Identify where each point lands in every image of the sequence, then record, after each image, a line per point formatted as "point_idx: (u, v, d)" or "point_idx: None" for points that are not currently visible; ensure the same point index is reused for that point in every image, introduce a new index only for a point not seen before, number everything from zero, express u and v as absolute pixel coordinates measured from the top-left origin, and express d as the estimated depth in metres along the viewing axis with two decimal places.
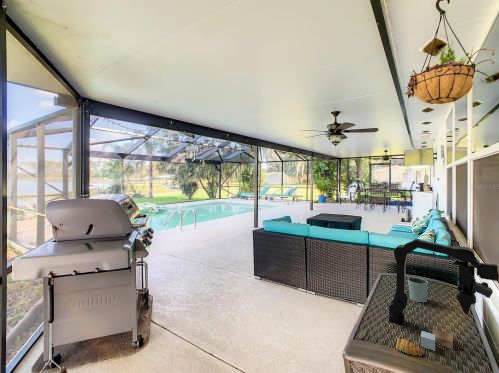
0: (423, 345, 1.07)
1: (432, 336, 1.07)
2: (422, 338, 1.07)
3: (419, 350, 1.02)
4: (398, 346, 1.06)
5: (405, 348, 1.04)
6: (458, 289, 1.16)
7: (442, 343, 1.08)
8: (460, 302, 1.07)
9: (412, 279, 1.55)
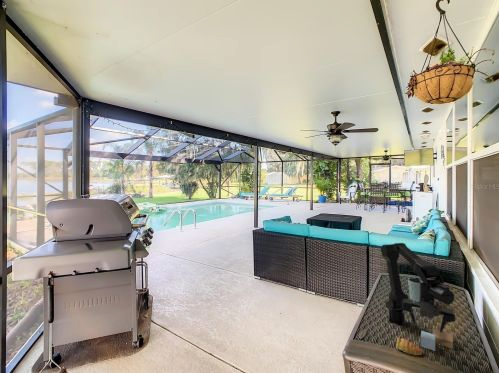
0: (423, 345, 1.07)
1: (432, 336, 1.07)
2: (422, 338, 1.07)
3: (418, 350, 1.03)
4: (398, 346, 1.06)
5: (405, 348, 1.04)
6: (442, 314, 1.07)
7: (442, 343, 1.08)
8: None
9: (412, 279, 1.55)
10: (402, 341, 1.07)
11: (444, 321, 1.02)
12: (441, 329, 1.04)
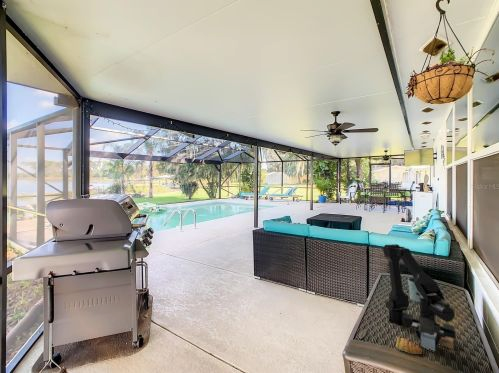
0: (423, 345, 1.07)
1: (432, 336, 1.07)
2: (422, 338, 1.07)
3: (418, 349, 1.03)
4: (398, 345, 1.06)
5: (405, 348, 1.04)
6: None
7: (442, 343, 1.08)
8: None
9: (412, 279, 1.55)
10: (402, 341, 1.07)
11: (439, 336, 1.04)
12: (436, 343, 1.05)
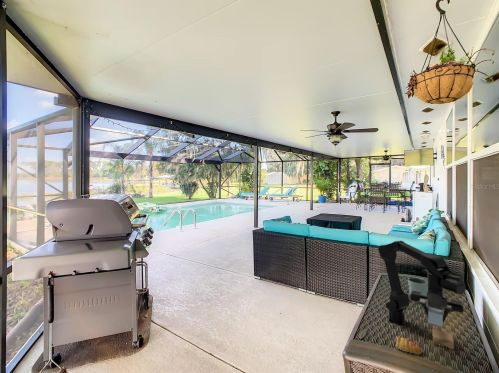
0: (431, 320, 1.08)
1: (440, 312, 1.08)
2: (430, 313, 1.08)
3: (418, 348, 1.04)
4: (398, 345, 1.06)
5: (404, 347, 1.05)
6: None
7: (443, 343, 1.08)
8: None
9: (412, 279, 1.55)
10: (402, 340, 1.07)
11: (446, 311, 1.05)
12: (443, 319, 1.07)
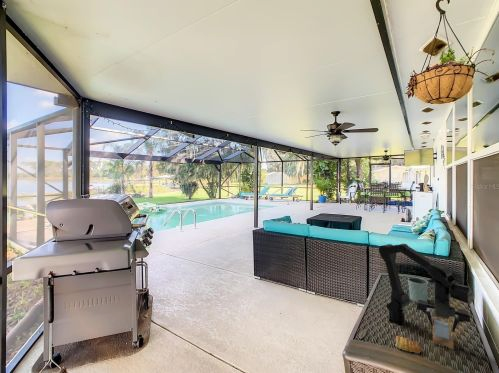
0: (437, 333, 1.10)
1: (446, 325, 1.10)
2: (436, 326, 1.10)
3: (418, 347, 1.04)
4: (398, 344, 1.07)
5: (404, 346, 1.05)
6: None
7: (442, 343, 1.08)
8: None
9: (412, 279, 1.55)
10: (401, 339, 1.08)
11: (456, 321, 1.06)
12: (453, 329, 1.08)
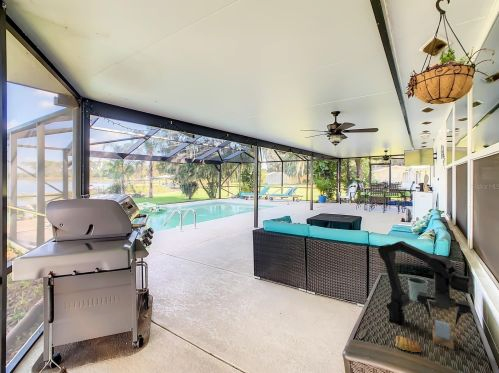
0: (437, 333, 1.10)
1: (447, 325, 1.10)
2: (436, 326, 1.10)
3: (417, 347, 1.05)
4: (398, 344, 1.07)
5: (404, 346, 1.05)
6: None
7: (442, 343, 1.08)
8: None
9: (412, 279, 1.55)
10: (401, 339, 1.08)
11: (459, 313, 1.05)
12: (456, 321, 1.07)
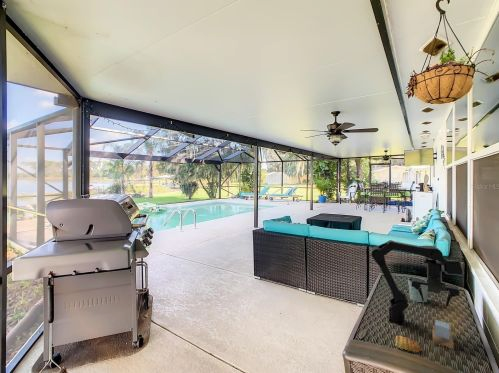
0: (437, 333, 1.10)
1: (447, 325, 1.10)
2: (436, 326, 1.10)
3: (417, 346, 1.05)
4: (397, 344, 1.07)
5: (404, 346, 1.06)
6: None
7: (442, 343, 1.08)
8: None
9: None
10: (401, 339, 1.08)
11: (449, 296, 1.16)
12: (447, 303, 1.18)
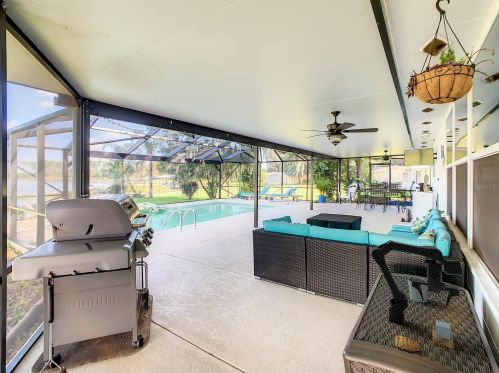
0: (438, 333, 1.10)
1: (447, 325, 1.10)
2: (437, 326, 1.10)
3: (417, 346, 1.05)
4: (397, 343, 1.07)
5: (404, 345, 1.06)
6: None
7: (442, 343, 1.08)
8: None
9: None
10: (401, 338, 1.09)
11: (449, 296, 1.16)
12: (447, 303, 1.18)
